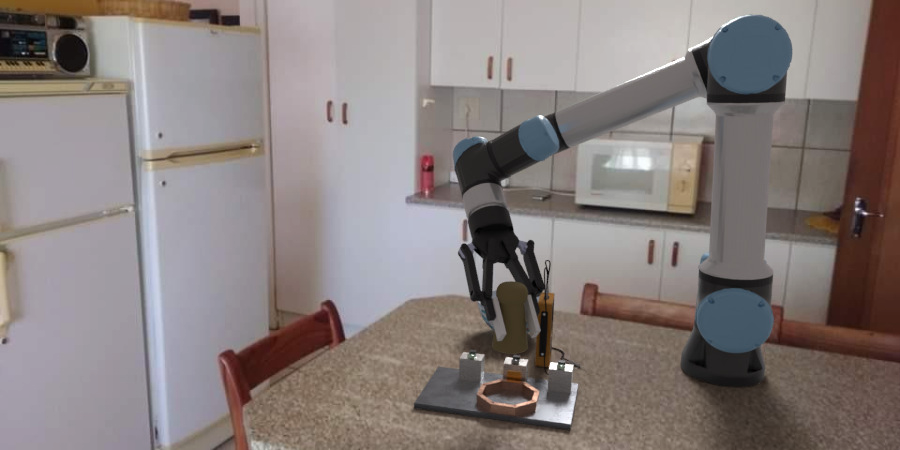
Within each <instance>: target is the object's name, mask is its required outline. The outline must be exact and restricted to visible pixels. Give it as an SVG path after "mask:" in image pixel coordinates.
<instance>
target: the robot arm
mask: <svg viewBox="0 0 900 450" xmlns="http://www.w3.org/2000/svg"><path fill="white" fill-rule="evenodd" d="M792 59H793V43H792V40H791V38H790V35H789V33H788V32H787V30H786V29H785V28H784V26H782V24H781V23H779V21H778V20H775V19H773V18H772V17H769V16H765V15H762V14H753V13H752V14H751V13H750V14H746V15H738V16H735V17H734V18H731V19H730V20H728V21H726V22H725V23H723V24H722V25H721V26H720V27H719V28H718V29H717V30H716V32H715V33H714V34H713V36H712V37H710V38H708V39H707V40H704V42H702V43H700V44H697V45H694V46H693V47H690V48H688V50H687V52H686V54H685V55H684V56H683V57H681V58H679V59H676V60H674V61H672V62H669V63H667V64H665V65H662V66H660V67H657V68H655V69H653V70H651V71H648V72H646V73H643V74H641V75H639V76H636V77H634V78H631V79H630V80H627V81H625V82H623V83H620V84H618V85H615V86H613V87H611V88H609V89H606V90H604V91H602V92H599V93H597V94H594V95H592V96H589V97H587V98H585V99H583V100H581V101H578V102H575V103H573V104H571V105H568V106H566V107H564V108H561V109H560V110H557V111H554V112H552V113H550V114H547V115H545V116H543V115H540V114H539V115H536V116H534V117H532V118H529V119H527V120H524V121H522V122H521V123H519V124H517V125H516V126H514V127H512V128H510V129H509V130H507V131H505V132H504V133H502V134H500V135H499V136H497V137H495V138H494V139H491V140H488V139H487V138H486V137H482V136H477V135H475V136H474V135H473V136H472V137H471V138H468V137H466V138H463V139H462V140H460V141H458V142H457V143H456V145H455V146H454V147H453V150H452V158H453V166H454V167H453V168H454V174H455V175H456V179H457V182H458V187H459V189H460V190H459V191H460V194H461V198H462V199H461V200H462V204H463V207H464V211H465V215H466V216H465V217H466V219H467V224H468V228H469V233H470V237H471V242H470V243H468V244H467V243H462V244H460V247H459V248H458V252H457V255H458V257H459V259H460V260H461V261H462V263H463V264H462V265H463V269H464V273H465V279H466V283H467V288H468V293H469V298H470V300H471V302H477V301H479V302H480V303H481V305H482V306H484V309H485V313H486V318H487V320H488V321H493V325H494V329H495V333H496V337H497V341H502V340H503V338H504V337H505V336H506V330H505V326H504V322H503V318H502V314H501V310H500V305H499V301H498V297H494V298H493V299H492V291H494V290H493V288H494V287H493V285H494V264H497V263H500V264H503V265H504V267H505V268H506V269H508V270H509V271H508V272H510V275H511V276H512V277H513V280H514V282H520V283H522V284H524V285H525V286H526V288H527V290H528V297H527V300H526V302H525V303H524V308H525V316H526V320H527V324H528V328H529V331H530V332H529V334H530V338H531V339H534V338H535V339H536V336H537V335H538V334H539V332H540V331H541V330H540V326H539V322H538V319H537V316H538V315H539V313H540V308H539V305H538V301H537V298H536V297H539V296H540V295H541V293H542V292H544V289H545V286H546V285H545V286H544V278H543V276H542V273H541V270H540V267H539V263H538V261H537V258H536V255H535V254H536V253H535V241H534V240H532V239H528V241H524V240H520V239H519V237H518V236H517V235H516V233H515V231H514V226H513V221H512V218H511V214H510V211H509V208H508V203H507V199H506V196H505V192H504V189H503V185H502V181H504V180H506V179H509V178H511V177H512V176H514V175H516V174H518V173H520V172H522V171H524V170H526V169H529V168H530V167H532V166H534V165H536V164H538V163H540V162H544V161H545V160H547V159H549V158H550V157H552V156H554V155H557V154H560V153H561V152H564V151H566V150H568V149H571V148H573V147H576V146H578V145H581V144H583V143H586V142H588V141H590V140H594V139H596V138H599V137H601V136H603V135H606V134H608V133H611V132H613V131H616V130H619V129H621V128H623V127H627V126H629V125H631V124H634V123H636V122H639V121H641V120H644V119H646V118H648V117H651V116H654V115H656V114H659V113H661V112H664V111H666V110H667V111H668V109H672V108H674V107H677V106H679V105H682V104H684V103H687V102H689V101H690V102H691V101H692V100H694V99H696V98H699V97H701V98H704V99H705V100H706V105H707V106H708V107H709V108H710V110H712V112H713V113H714V114H715V124H714V125H715V129H714V146H713V147H714V148H713V168H712V187H711V208H710V224H709V225H710V227H709V247H708V248H709V249H708V252H705V253H703V254H702V255H701V256H700V261H699V264H698V279H697V287H696V288H697V289H696V299H695V309H694V311H695V312H694V318H693V319H694V321H693V328H692V330H691V332H690V334H689V336H688V339H687V341H686V343H685V344H684V346H683V350H682V351H681V354H680V355H681V356H680V364H679V365H680V368H681V369H682V370H683V372H684V373H685V374H686V375H688V376H690V377H692V378H694V379H697V380H698V381H702V382H705V383H708V384H711V385H717V386H722V387H732V388H742V387H743V388H745V387H746V388H747V387H753V386H756V385H758V384H761V383H762V382H763V381H764V379H765V374H766V363H765V359H764V354H763V349H762V345H763V344H764V343H766V341H767V340H768V339H769V338H770V336H771V333H772V331H773V327H774V323H775V316H774V314H773V312H774V311H773V309H772V300H773V299H772V297H773V285H774V284H773V283H774V282H773V281H774V270H773V268H772V267H771V266H770V265H769V264H768V263H767V261H766V260H765V252H766V251H765V249H766V239H767V238H766V236H767V235H766V234H767V222H768V221H767V219H768V208H769V207H768V206H769V188H770V175H771V174H770V173H771V159H772V144H773V129H774V128H773V127H774V115H775V113H776V112H777V111H779V110H780V109H781V107H783V106H784V105H785V104H786V103H785V102H786V92H787V79H788V78H787V77H788V70H789V68H790V66H791V63H792ZM517 248H518V250H519V251H520V255H521V256H523V257H522V259H523V262H524V267H523V266H522V263H521V262H520V260H519V255H518V254H517V252H516V250H517ZM474 252H475V254H477V255H478V256H479V257H480V258H481V259H482V266H481V267H482V281H481V285H480V280H479V276H478V271H477V267H476V266H477V265H476V262H475V257H474ZM525 269H526V271H525ZM526 272H527V273H526Z"/></svg>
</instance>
